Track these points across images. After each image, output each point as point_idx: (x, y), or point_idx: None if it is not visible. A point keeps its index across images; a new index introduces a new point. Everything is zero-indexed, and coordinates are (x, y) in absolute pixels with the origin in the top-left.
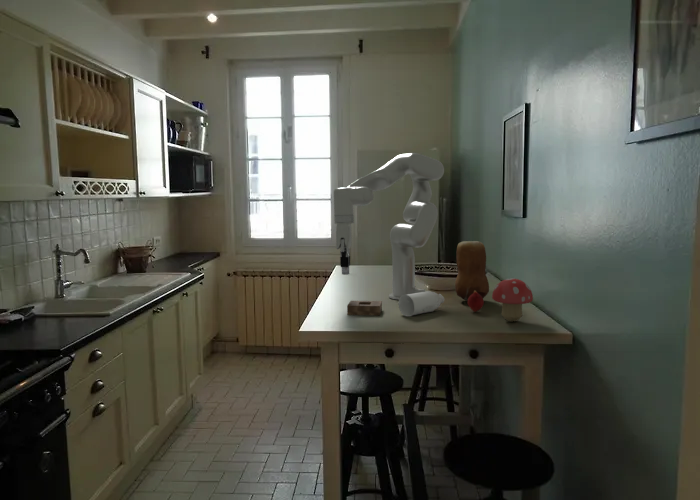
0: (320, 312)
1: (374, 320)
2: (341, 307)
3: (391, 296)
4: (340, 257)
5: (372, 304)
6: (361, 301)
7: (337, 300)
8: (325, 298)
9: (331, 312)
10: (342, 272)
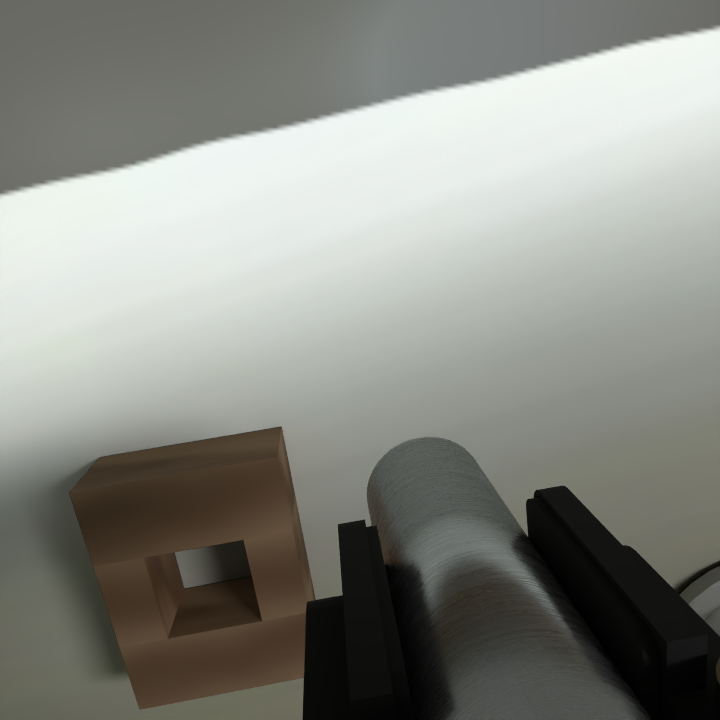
0: (102, 225)
1: (15, 661)
2: (335, 333)
3: (696, 597)
4: (353, 692)
5: (180, 651)
6: (264, 547)
7: (598, 209)
8: (674, 63)
9: (135, 315)
10: (384, 475)
